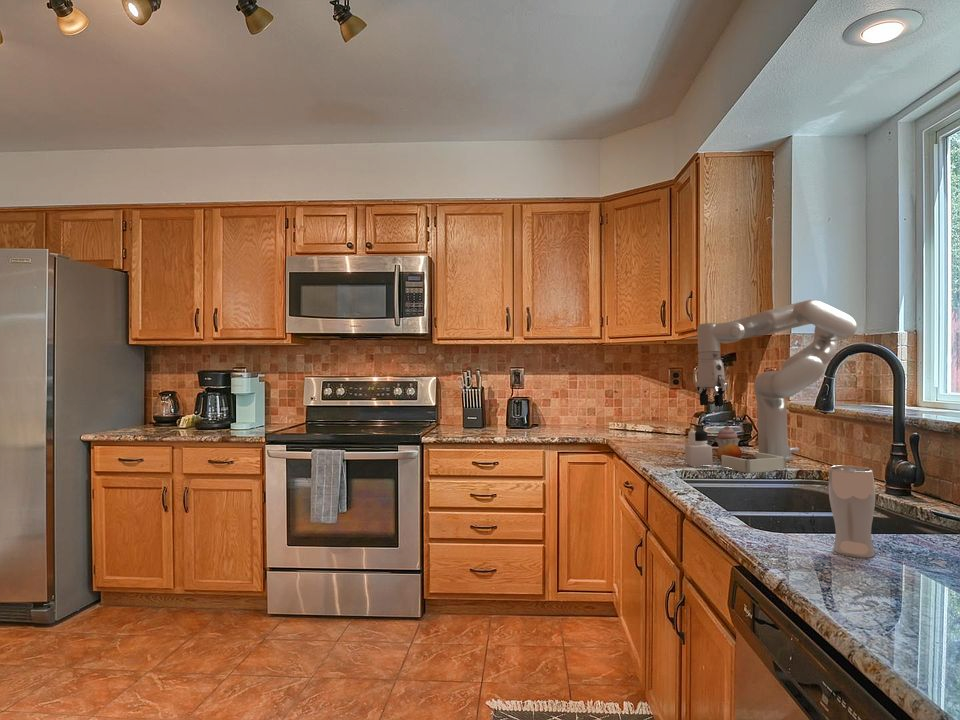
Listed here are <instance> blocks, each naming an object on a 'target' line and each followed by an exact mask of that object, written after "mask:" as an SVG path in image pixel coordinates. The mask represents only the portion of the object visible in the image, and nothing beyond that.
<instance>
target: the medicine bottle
mask: <svg viewBox="0 0 960 720" xmlns="http://www.w3.org/2000/svg"><path fill="white" fill-rule="evenodd" d="M684 453H685V454H684V455H685V456H684V457H685V459H684V460H685V464H686V463H687V464H689V465H690V466H701V465H702V466H703V465H712V466H713V446H712V445H710V444H708V432H707V431H705V430H701V429H700V430H699V429H697V430H696V429H692V430H690V431H688V443H685V444H684ZM687 464H686V465H687ZM689 465H688V466H689ZM690 466H689V467H690Z"/></svg>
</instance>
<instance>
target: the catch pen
mask: <svg viewBox="0 0 960 720" xmlns="http://www.w3.org/2000/svg"><path fill="white" fill-rule="evenodd" d="M755 454H756V458H754V459H753V458H752V459H745V458H742V457H741V458H736V457H731V456H726V455H721V460H722V462H721V467H722V466H724V467H729V468H732V469H734V470H733V471H736V470H737V471H736V472H740V473H745V474H754V473H755V474H756V473H765V472H774V471H773V470H778V469H784V468H787V469H788V467H787V461H786V457H781V456H775V455H770V454H764V453H759V452H756V453H755Z"/></svg>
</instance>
